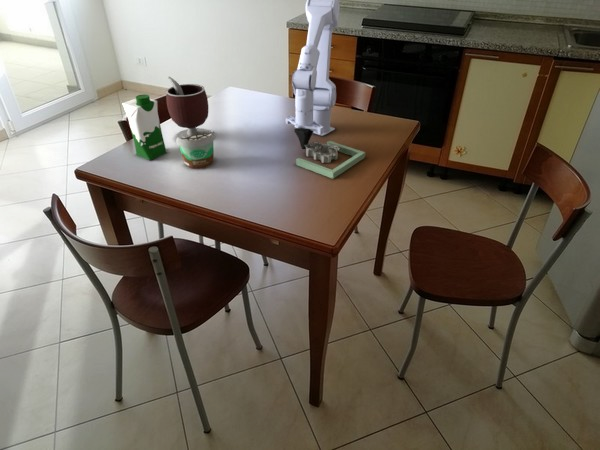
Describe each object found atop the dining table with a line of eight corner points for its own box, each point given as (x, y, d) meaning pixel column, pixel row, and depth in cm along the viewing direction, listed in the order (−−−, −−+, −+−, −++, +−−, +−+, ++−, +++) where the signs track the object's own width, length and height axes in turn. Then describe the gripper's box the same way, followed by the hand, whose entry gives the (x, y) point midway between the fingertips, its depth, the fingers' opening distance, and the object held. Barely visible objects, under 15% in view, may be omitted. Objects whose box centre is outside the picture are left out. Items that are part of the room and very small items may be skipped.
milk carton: (149, 162, 138) (135, 102, 126) (132, 155, 142) (116, 96, 130) (170, 152, 143) (158, 94, 132) (153, 146, 148) (140, 88, 136)
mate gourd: (220, 135, 155) (213, 80, 143) (190, 148, 146) (180, 90, 135) (193, 125, 163) (184, 72, 151) (163, 136, 154) (151, 81, 143)
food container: (185, 174, 131) (180, 144, 125) (180, 166, 135) (174, 136, 130) (223, 165, 136) (219, 136, 130) (217, 157, 140) (213, 129, 134)
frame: (296, 165, 135) (296, 159, 134) (329, 146, 147) (329, 140, 145) (333, 178, 128) (333, 173, 127) (364, 157, 139) (365, 152, 138)
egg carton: (340, 158, 139) (341, 146, 137) (324, 165, 135) (325, 154, 133) (318, 147, 145) (318, 136, 143) (302, 154, 141) (302, 143, 139)
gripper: (278, 107, 135) (280, 146, 143) (314, 117, 128) (314, 158, 136) (293, 101, 140) (293, 139, 148) (328, 111, 132) (327, 151, 140)
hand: (304, 148), depth 142 cm, fingers closed
